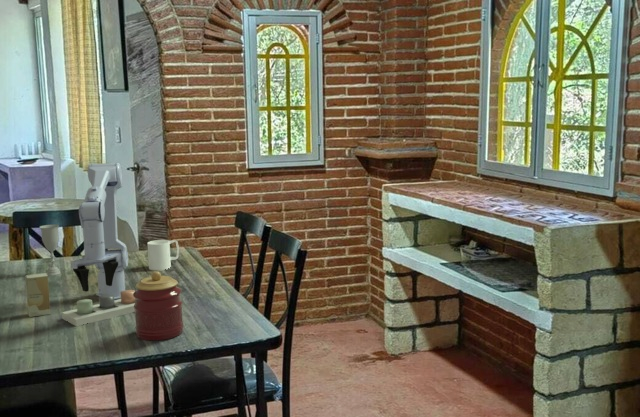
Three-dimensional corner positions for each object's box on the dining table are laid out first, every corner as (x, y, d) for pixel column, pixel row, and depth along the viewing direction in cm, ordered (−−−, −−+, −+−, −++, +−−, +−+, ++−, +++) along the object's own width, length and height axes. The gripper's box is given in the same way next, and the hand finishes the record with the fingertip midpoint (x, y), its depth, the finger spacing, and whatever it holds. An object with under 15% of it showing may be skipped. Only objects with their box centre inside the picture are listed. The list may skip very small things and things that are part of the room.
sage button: (74, 311, 211) (74, 301, 211) (89, 308, 214) (88, 298, 214) (81, 315, 208) (80, 304, 207) (95, 311, 211) (94, 301, 210)
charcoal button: (97, 306, 216) (96, 296, 215) (110, 303, 219) (110, 293, 218) (103, 309, 213) (102, 299, 212) (117, 306, 215) (116, 296, 215)
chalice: (67, 272, 268) (63, 225, 265) (52, 276, 262) (47, 228, 259) (55, 270, 272) (50, 224, 269) (39, 274, 266) (35, 227, 263)
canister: (140, 344, 188) (135, 279, 185) (132, 330, 200) (128, 269, 197) (188, 336, 193) (185, 273, 191) (178, 323, 205) (174, 263, 202)
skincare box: (29, 317, 214) (25, 278, 212) (27, 313, 218) (24, 275, 216) (51, 314, 217) (48, 275, 215) (49, 310, 221) (46, 272, 219)
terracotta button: (118, 301, 220) (117, 291, 220) (131, 298, 223) (130, 289, 223) (125, 304, 217) (124, 294, 217) (138, 301, 220) (137, 291, 220)
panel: (62, 318, 212) (61, 312, 211) (135, 301, 228) (135, 295, 227) (76, 326, 204) (75, 319, 204) (151, 308, 220) (150, 301, 220)
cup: (183, 267, 271) (181, 241, 270) (151, 271, 266) (150, 245, 264) (177, 263, 279) (176, 238, 277) (146, 267, 273) (145, 241, 272)
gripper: (78, 248, 199) (81, 295, 201) (123, 240, 210) (126, 285, 211) (65, 245, 204) (69, 291, 206) (110, 237, 214) (113, 281, 216)
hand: (97, 288), depth 209 cm, fingers open, 7 cm apart
